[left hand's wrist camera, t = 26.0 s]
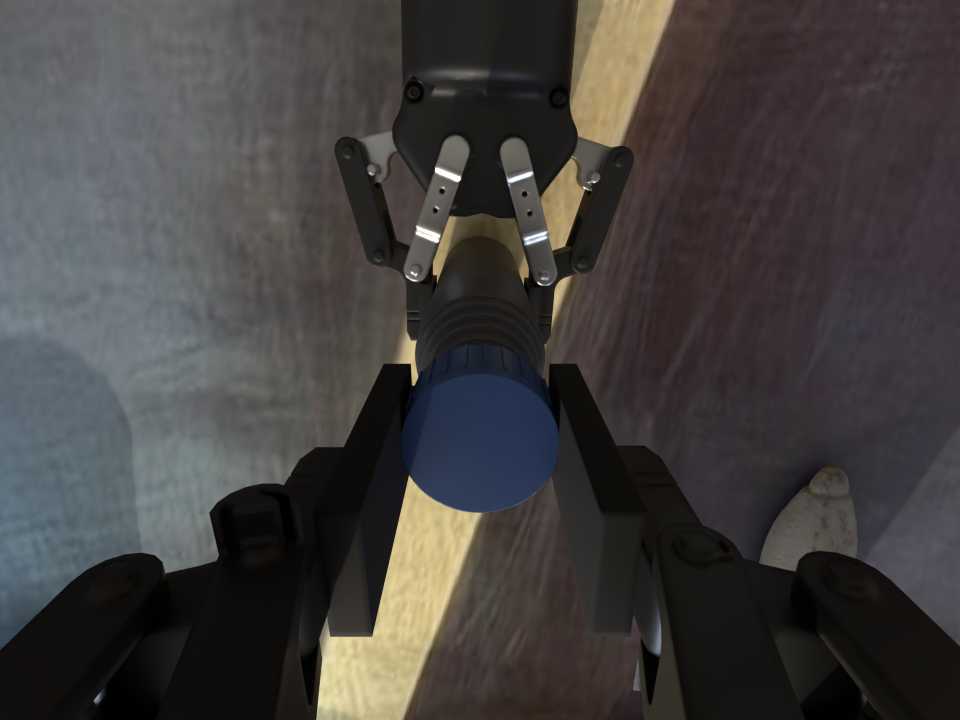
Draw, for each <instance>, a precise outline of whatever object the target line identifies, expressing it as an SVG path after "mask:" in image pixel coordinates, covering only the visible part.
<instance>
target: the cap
mask: <svg viewBox="0 0 960 720" xmlns="http://www.w3.org/2000/svg"><path fill="white" fill-rule="evenodd" d="M404 413H405V414H406V416H405V419H404V422H403V426H402V430H401V439H402V455H403V462H404V465H405V468H406V470H407V472H408V474H409V475H410V477H411V478H412V480H413V481H414V483H415V484H416V485H417V486H418V487H419V488H420V489H421V490H422V491H423V492H424V493H425V494H427V495H428V496H429V497H431V498H432V499H434V500H435V501H437V502H439V503H441V504H443V505H445V506H448V507H450V508H453V509H457V510H461V511H466V512H476V513H485V512H494V511H500V510H504V509H507V508H510V507H513V506H515V505H517V504H520V503H522V502H523V501H525V500H527V499H528V498H530V497H531V496H532V495H534V494H535V493H536V492H537V491H538V490H539V489H540V488H541V487H542V486H543V485H544V484H545V483H546V481H547V480H548V479H549V477H550V476H551V474H552V472H553V470H554V468H555V466H556V463H557V459H558V444H559V429H558V424H557V418H556V415H555V411H554V408H553V403H552V400H551V397H550V394H549V390H548V387H547V384H546V380H545V379H542V377H541V376H540V374H539V373H538V372H537V370H536V366H535V365H531V364H530V363H529V362H528V361H527V360H525V359H524V358H523V357H522V355H521V354H519V355H518V354H516V353H515V352H512V351H510V350H508V349H505V347H504V346H502V347H498V346H493V345H487V343H484V344H476V345H468V344H465V346H462V347H458V348H455V349H453V350H450V349H449V350H447V352H446V353H444V354H442V355H440V356H439V357H438V358H436V359H434V358H433V359H432V360H431V363H430V364H429V365H428V366H427V367H426V368H425V369H424V371H423V372H422V371H420V373H419V376H418V379H417V382H416V384H415V386H412V388H411V391H410V394H409V398H408V401H407V404H406V407H405V411H404Z"/></svg>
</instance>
